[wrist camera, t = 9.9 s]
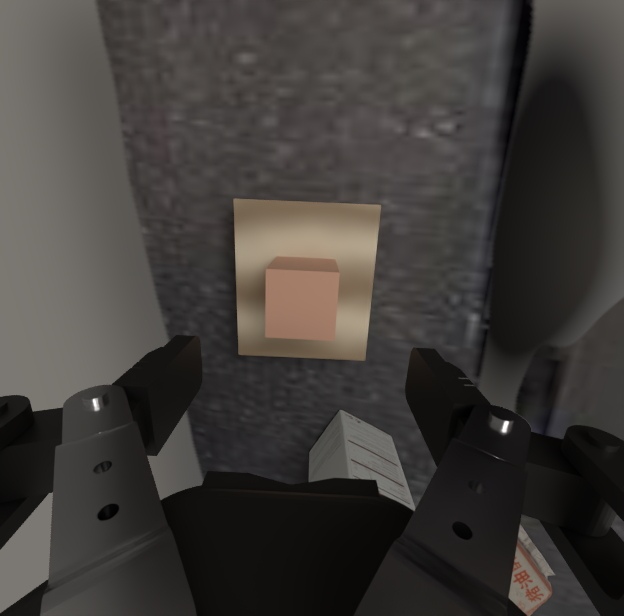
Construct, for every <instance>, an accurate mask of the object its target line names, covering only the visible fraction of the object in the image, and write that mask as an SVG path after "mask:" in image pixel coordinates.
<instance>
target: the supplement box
mask: <svg viewBox="0 0 624 616" xmlns="http://www.w3.org/2000/svg"><path fill="white" fill-rule="evenodd" d="M330 478H350V479H370V480H376V481H377V485H378V490H379V495H383V496H386V497H388V498H391V499H393V500H396V501H398V502H400V503H402V504H404V505H405V506H407V507H409V508H410V509H412V510H413V511H415V506H414V503H413V500H412V497H411V494H410V491H409V488H408V485H407V482H406V479H405V476H404V473H403V470H402V467H401V464H400V461H399V458H398V455H397V452H396V449H395V446H394V443H393V440H392V437H391V436H390V435H388V434H386V433H385V432H383V431H381V430H379V429H377V428H375V427H373V426H371V425H369V424H368V423H366V422H364V421H362V420H360V419H358V418H356V417H354V416H352V415H350V414H348V413H346V412H345V411H342V410H339V411H338V413H337V414H336V416H335V417H334V418H333V420H332V421H331V422H330V424H329V425H328V427H327V428H326V429H325V431H324V432H323V434H322V435H321V436H320V438H319V439H318V441H317V442H316V443H315V445H314V446H313V448H312V449H311V450H310V452H309V482H313V481H319V480H324V479H330Z"/></svg>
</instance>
